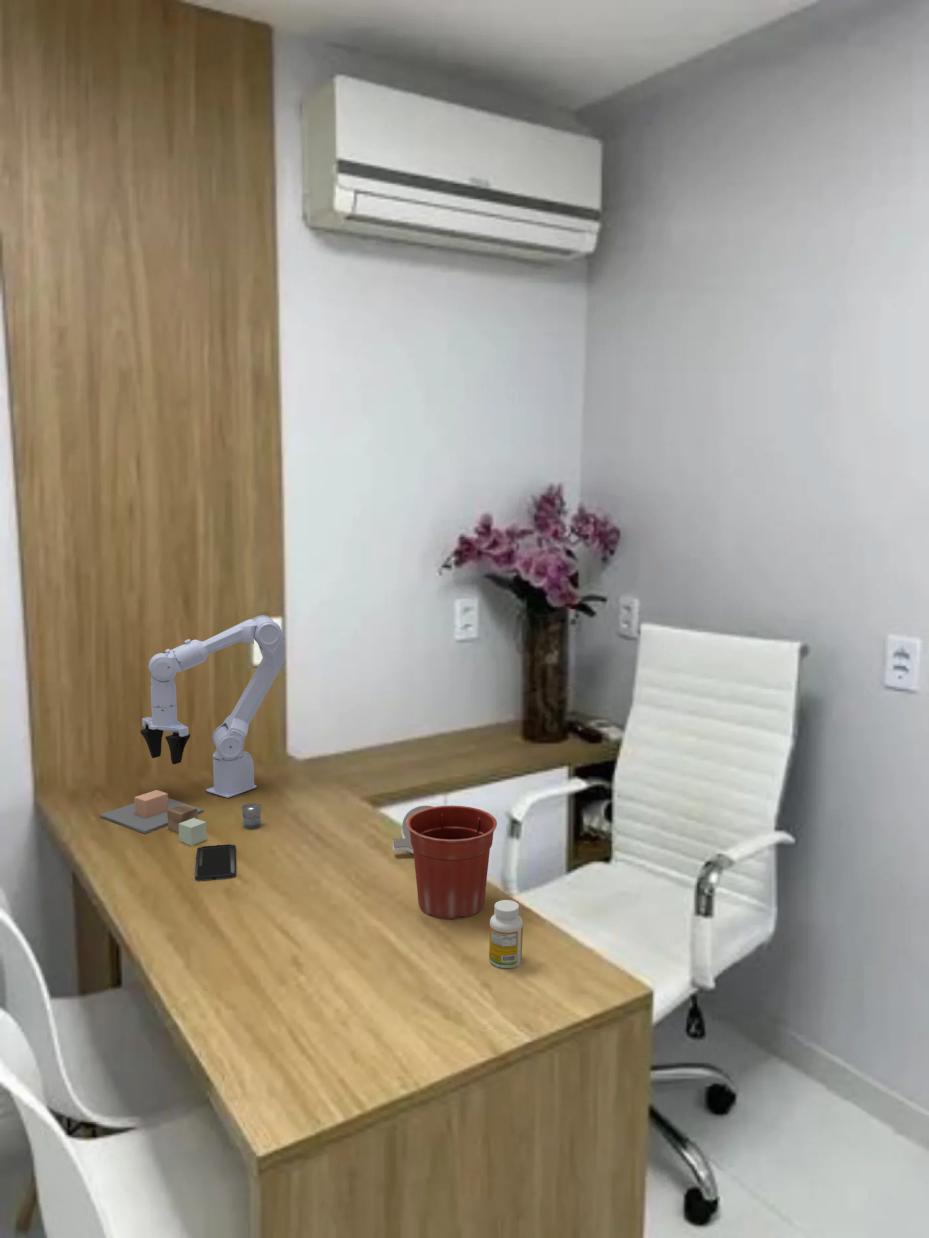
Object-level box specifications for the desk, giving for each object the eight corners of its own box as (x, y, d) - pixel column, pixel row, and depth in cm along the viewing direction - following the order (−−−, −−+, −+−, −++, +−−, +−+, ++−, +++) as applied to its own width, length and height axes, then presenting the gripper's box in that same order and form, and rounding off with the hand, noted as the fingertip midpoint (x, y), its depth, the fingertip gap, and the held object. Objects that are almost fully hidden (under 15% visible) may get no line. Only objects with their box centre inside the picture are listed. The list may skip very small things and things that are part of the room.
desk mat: (159, 797, 224) (158, 794, 224) (203, 811, 216) (203, 809, 215) (100, 817, 211) (99, 814, 211) (144, 833, 203) (144, 831, 202)
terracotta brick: (157, 806, 217) (156, 789, 216) (168, 810, 215) (167, 793, 214) (135, 813, 212) (134, 797, 211) (146, 818, 210) (145, 801, 209)
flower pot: (416, 931, 163) (417, 843, 160) (397, 889, 178) (398, 809, 175) (506, 920, 167) (508, 834, 164) (480, 880, 182) (482, 802, 180)
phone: (235, 843, 196) (235, 874, 182) (235, 848, 197) (236, 879, 182) (196, 846, 194) (193, 877, 180) (196, 852, 195) (194, 883, 180)
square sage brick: (194, 835, 202) (193, 817, 202) (206, 839, 200) (206, 822, 200) (179, 841, 199) (178, 823, 198) (191, 845, 197) (191, 827, 196)
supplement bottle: (502, 948, 157) (503, 894, 155) (528, 959, 154) (529, 904, 152) (482, 961, 153) (483, 906, 151) (508, 973, 150) (510, 916, 148)
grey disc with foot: (395, 859, 190) (391, 803, 194) (390, 864, 197) (387, 811, 201) (467, 853, 193) (461, 799, 197) (460, 859, 200) (455, 806, 204)
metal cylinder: (252, 820, 211) (252, 801, 210) (264, 825, 209) (264, 805, 208) (238, 826, 207) (238, 807, 207) (251, 830, 205) (250, 811, 205)
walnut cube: (184, 823, 209) (183, 803, 208) (198, 827, 207) (197, 808, 206) (168, 829, 205) (167, 810, 205) (181, 834, 203) (180, 814, 202)
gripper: (130, 703, 221) (132, 758, 223) (169, 713, 213) (172, 770, 215) (155, 697, 227) (157, 751, 229) (194, 706, 219) (196, 762, 221)
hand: (166, 760), depth 223 cm, fingers open, 7 cm apart
